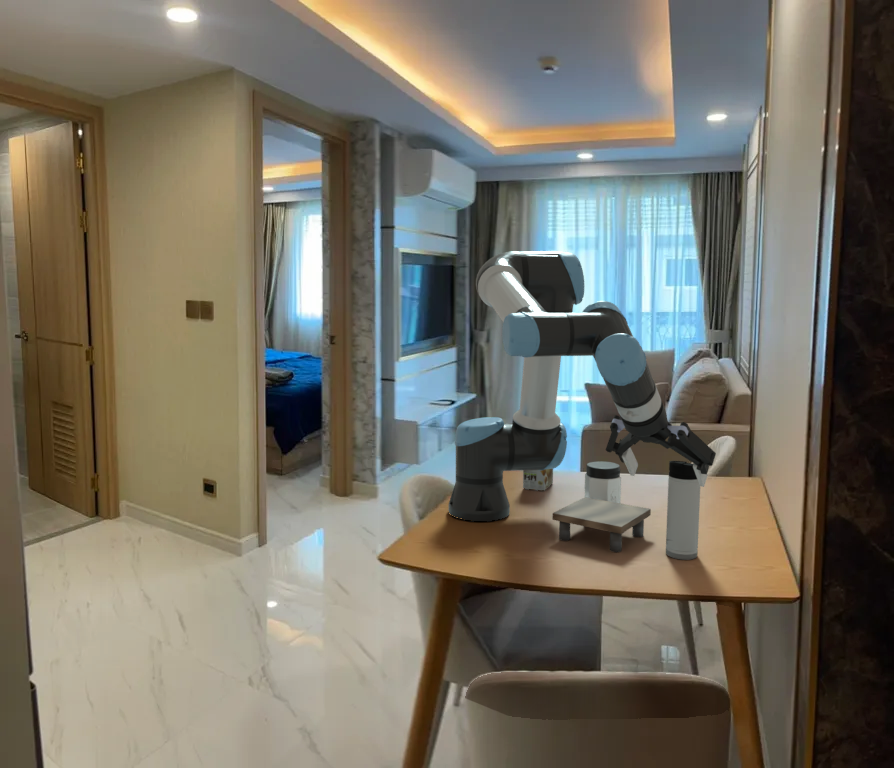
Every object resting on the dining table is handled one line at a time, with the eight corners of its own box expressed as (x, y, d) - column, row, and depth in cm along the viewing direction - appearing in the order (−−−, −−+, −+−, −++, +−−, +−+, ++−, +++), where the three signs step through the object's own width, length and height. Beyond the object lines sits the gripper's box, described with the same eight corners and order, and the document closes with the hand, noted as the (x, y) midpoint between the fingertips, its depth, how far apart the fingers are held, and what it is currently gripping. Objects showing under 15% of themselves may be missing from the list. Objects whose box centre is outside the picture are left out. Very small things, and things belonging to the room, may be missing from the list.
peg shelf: (552, 539, 159) (552, 513, 158) (584, 521, 171) (585, 497, 170) (620, 554, 149) (621, 526, 148) (649, 534, 162) (650, 508, 161)
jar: (601, 519, 173) (602, 470, 171) (577, 511, 180) (578, 464, 178) (627, 513, 178) (628, 465, 176) (603, 505, 185) (604, 459, 183)
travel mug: (659, 555, 149) (662, 460, 146) (673, 547, 153) (677, 455, 151) (688, 563, 144) (692, 465, 142) (702, 554, 149) (706, 460, 147)
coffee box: (544, 491, 198) (545, 434, 196) (522, 489, 200) (523, 432, 198) (553, 483, 206) (554, 428, 204) (531, 481, 209) (532, 427, 207)
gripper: (568, 417, 131) (601, 481, 144) (707, 432, 116) (730, 502, 129) (582, 385, 134) (613, 451, 148) (719, 396, 119) (740, 468, 133)
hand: (668, 475), depth 139 cm, fingers open, 13 cm apart
